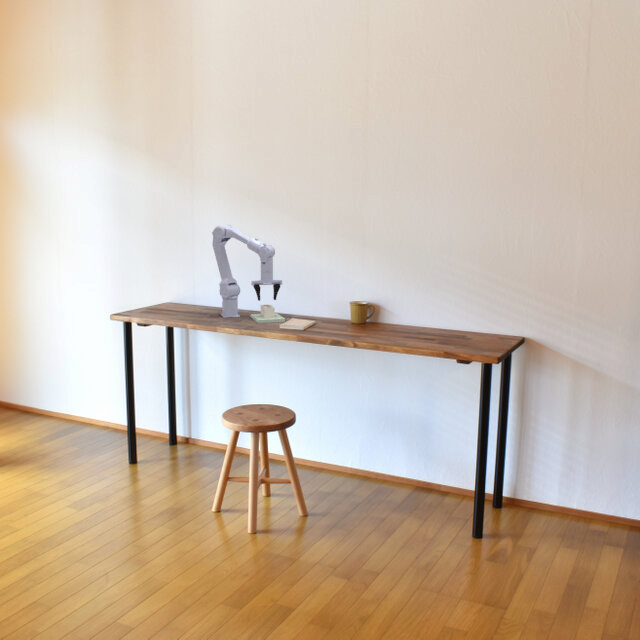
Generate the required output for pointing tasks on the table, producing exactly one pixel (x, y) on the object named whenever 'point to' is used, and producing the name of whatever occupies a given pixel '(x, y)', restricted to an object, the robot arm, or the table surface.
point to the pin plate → (260, 319)
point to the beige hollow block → (267, 311)
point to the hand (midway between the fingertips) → (266, 300)
